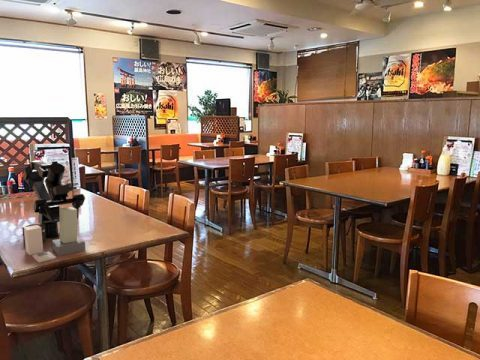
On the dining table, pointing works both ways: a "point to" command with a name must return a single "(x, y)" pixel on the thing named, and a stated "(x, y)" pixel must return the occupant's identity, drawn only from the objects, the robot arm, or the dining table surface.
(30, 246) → the white block
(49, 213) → the robot arm
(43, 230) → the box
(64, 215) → the sage block
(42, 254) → the plaque
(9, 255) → the dining table surface
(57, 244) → the slate base
